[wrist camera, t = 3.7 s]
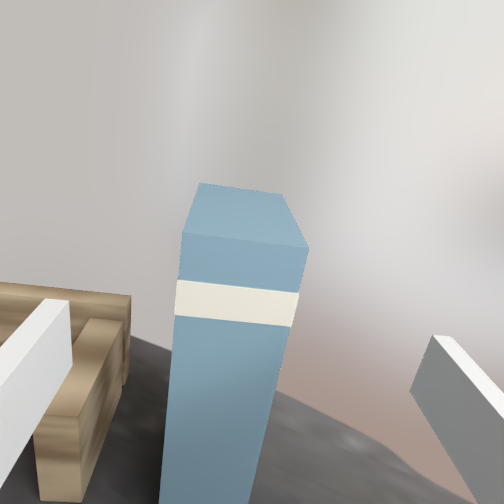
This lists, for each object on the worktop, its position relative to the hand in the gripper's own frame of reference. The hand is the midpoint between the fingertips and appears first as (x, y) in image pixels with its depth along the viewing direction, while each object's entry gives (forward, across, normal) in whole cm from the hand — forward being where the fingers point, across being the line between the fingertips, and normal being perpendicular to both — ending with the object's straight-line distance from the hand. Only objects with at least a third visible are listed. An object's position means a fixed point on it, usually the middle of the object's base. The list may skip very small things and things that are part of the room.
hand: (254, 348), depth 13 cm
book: (+10, -1, -22) cm, 24 cm away
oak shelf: (+15, -18, -21) cm, 31 cm away
